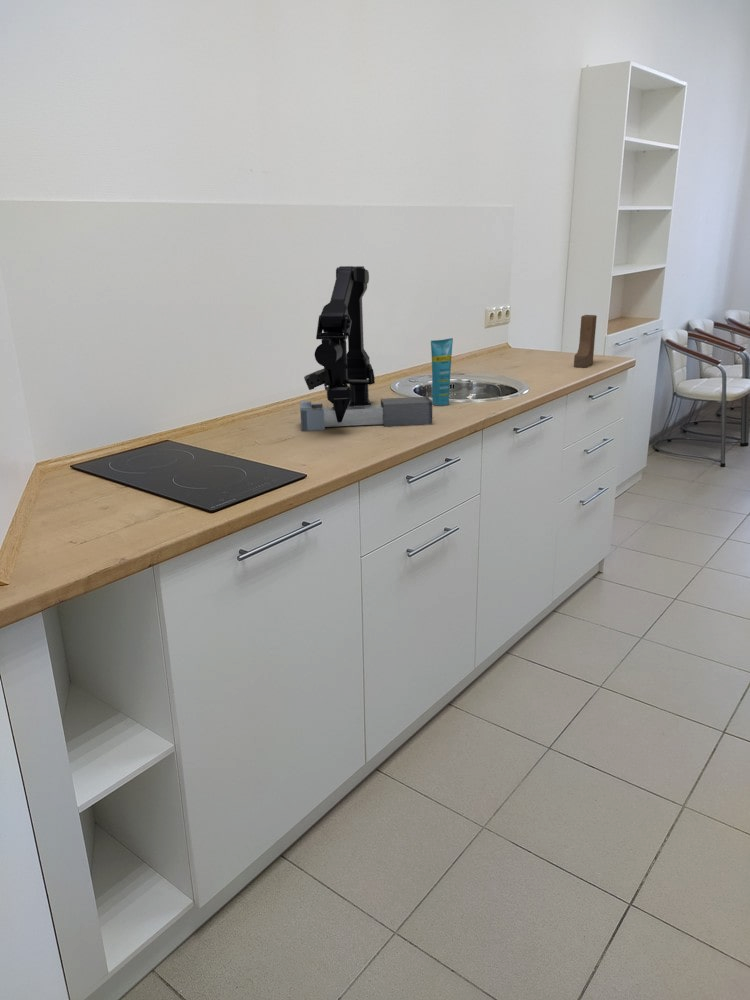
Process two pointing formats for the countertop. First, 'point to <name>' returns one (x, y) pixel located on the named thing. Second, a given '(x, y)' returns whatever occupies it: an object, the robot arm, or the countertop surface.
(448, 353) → the tube
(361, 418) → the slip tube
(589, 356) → the wooden block
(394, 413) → the sleeve
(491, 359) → the countertop surface
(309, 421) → the blue-grey u-shaped block
